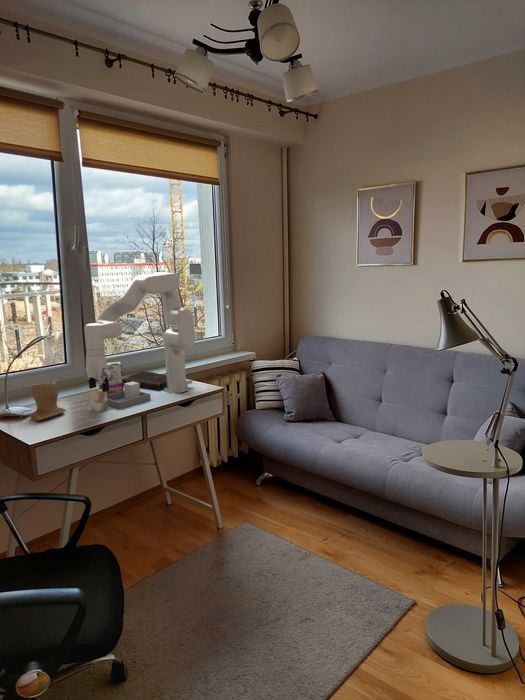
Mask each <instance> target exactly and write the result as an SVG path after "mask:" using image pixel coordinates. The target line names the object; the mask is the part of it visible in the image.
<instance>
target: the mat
mask: <svg viewBox="0 0 525 700" xmlns="http://www.w3.org/2000/svg"><path fill="white" fill-rule="evenodd" d="M84 410H86V411H89V412H93V413H95V414H97V415H98V414H102V413H105V412H108V411H112V410H114V408H113V407H110V406H108V409H104V410H101V411H96V410H92V409H91V407H88V408H84Z"/></svg>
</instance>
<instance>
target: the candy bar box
mask: <svg viewBox="0 0 525 700" xmlns="http://www.w3.org/2000/svg"><path fill="white" fill-rule="evenodd" d="M107 368H108V372H109V373H110V374H111V376H110V380H109V391H107V395H110V394H114V393H117V392H121V391H124V387H123V378H124V377H123V368H122V363H121V361H113V362H112V361H111V362H107ZM103 379H104V380H105V378H103ZM97 380H98V387H99V388H98V390H99V389H100V390H102V383H103V382H102V381H101V379H97Z"/></svg>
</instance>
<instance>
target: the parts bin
mask: <svg viewBox="0 0 525 700" xmlns="http://www.w3.org/2000/svg"><path fill="white" fill-rule="evenodd" d="M151 400H152V397H151V393H148V392H146V391H145V392H144V391H141V390H140V396H139V397H136V398H132V399H128V400H125V393H124V390H123V391H121V392H117V393H114V394H110V395H107V404H108V407H110V408H113V409H116V410H122V409H125V408H128V407H133V406H135V405H140V404H142V403H145V402H149V401H151Z"/></svg>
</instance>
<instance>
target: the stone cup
mask: <svg viewBox="0 0 525 700" xmlns="http://www.w3.org/2000/svg"><path fill="white" fill-rule="evenodd" d="M31 395H32V396H33V399H34V401H35V406H36V409H35V411H33V412H31V413H29V414H28V417H29V418H30V419H31V420H32V421H34V422H38V421H42V420H43V421H44V420H45V419H49V418H52V417H55V416H58V415H60V414H63V413H65V412H66V411H67V410H66V409H65V408H61V407H59V406H58V404H57V403H58V397H59V388H58V384H57V382H56V381H42V382H37V383H33V384H32V386H31Z"/></svg>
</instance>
